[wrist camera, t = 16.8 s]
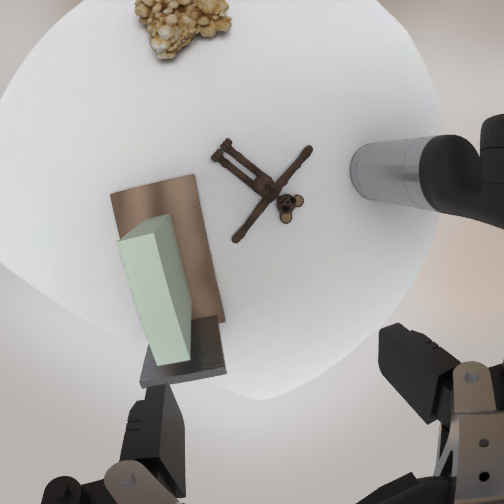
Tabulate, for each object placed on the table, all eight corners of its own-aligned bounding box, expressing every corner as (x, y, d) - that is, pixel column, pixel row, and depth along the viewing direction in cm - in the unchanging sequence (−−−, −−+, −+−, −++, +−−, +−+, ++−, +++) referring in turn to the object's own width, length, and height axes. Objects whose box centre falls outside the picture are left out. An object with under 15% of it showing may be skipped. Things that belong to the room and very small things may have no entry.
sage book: (170, 213, 42) (153, 232, 26) (191, 300, 45) (190, 359, 30) (145, 218, 41) (116, 241, 26) (168, 305, 45) (157, 365, 29)
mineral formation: (158, 72, 39) (115, 7, 34) (234, 37, 41) (189, -23, 36) (162, 50, 31) (114, -21, 26) (251, 14, 34) (199, -51, 28)
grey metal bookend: (216, 314, 46) (225, 366, 33) (218, 320, 47) (227, 373, 33) (152, 327, 45) (139, 381, 32) (154, 333, 45) (142, 388, 32)
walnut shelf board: (193, 174, 43) (193, 174, 41) (224, 316, 49) (225, 321, 47) (113, 193, 42) (109, 194, 40) (151, 331, 47) (149, 337, 45)
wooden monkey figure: (260, 98, 40) (340, 165, 42) (257, 107, 44) (331, 168, 46) (176, 199, 41) (260, 265, 43) (180, 199, 45) (257, 259, 48)
